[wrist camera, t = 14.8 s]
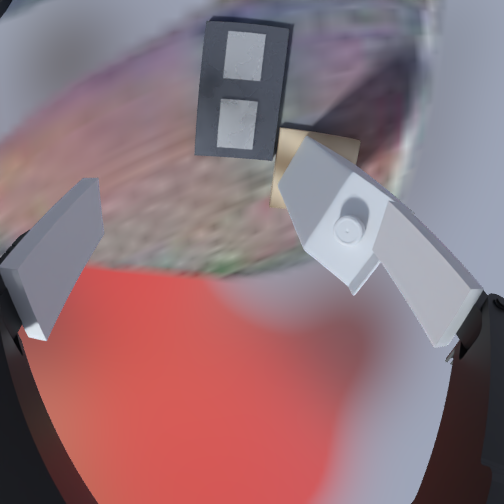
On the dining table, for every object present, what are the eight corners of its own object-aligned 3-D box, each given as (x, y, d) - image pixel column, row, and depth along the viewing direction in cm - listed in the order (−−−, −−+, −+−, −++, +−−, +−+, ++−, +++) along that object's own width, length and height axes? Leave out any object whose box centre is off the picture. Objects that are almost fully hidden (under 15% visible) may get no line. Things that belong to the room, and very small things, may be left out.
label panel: (207, 22, 26) (206, 20, 25) (287, 30, 27) (290, 28, 26) (195, 153, 34) (194, 155, 33) (271, 158, 35) (272, 161, 34)
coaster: (279, 127, 33) (280, 128, 33) (358, 139, 35) (360, 141, 34) (269, 204, 39) (269, 207, 38) (342, 211, 40) (344, 214, 39)
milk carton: (353, 163, 35) (440, 237, 19) (324, 209, 38) (384, 308, 22) (305, 134, 33) (375, 191, 17) (276, 185, 36) (314, 279, 20)
